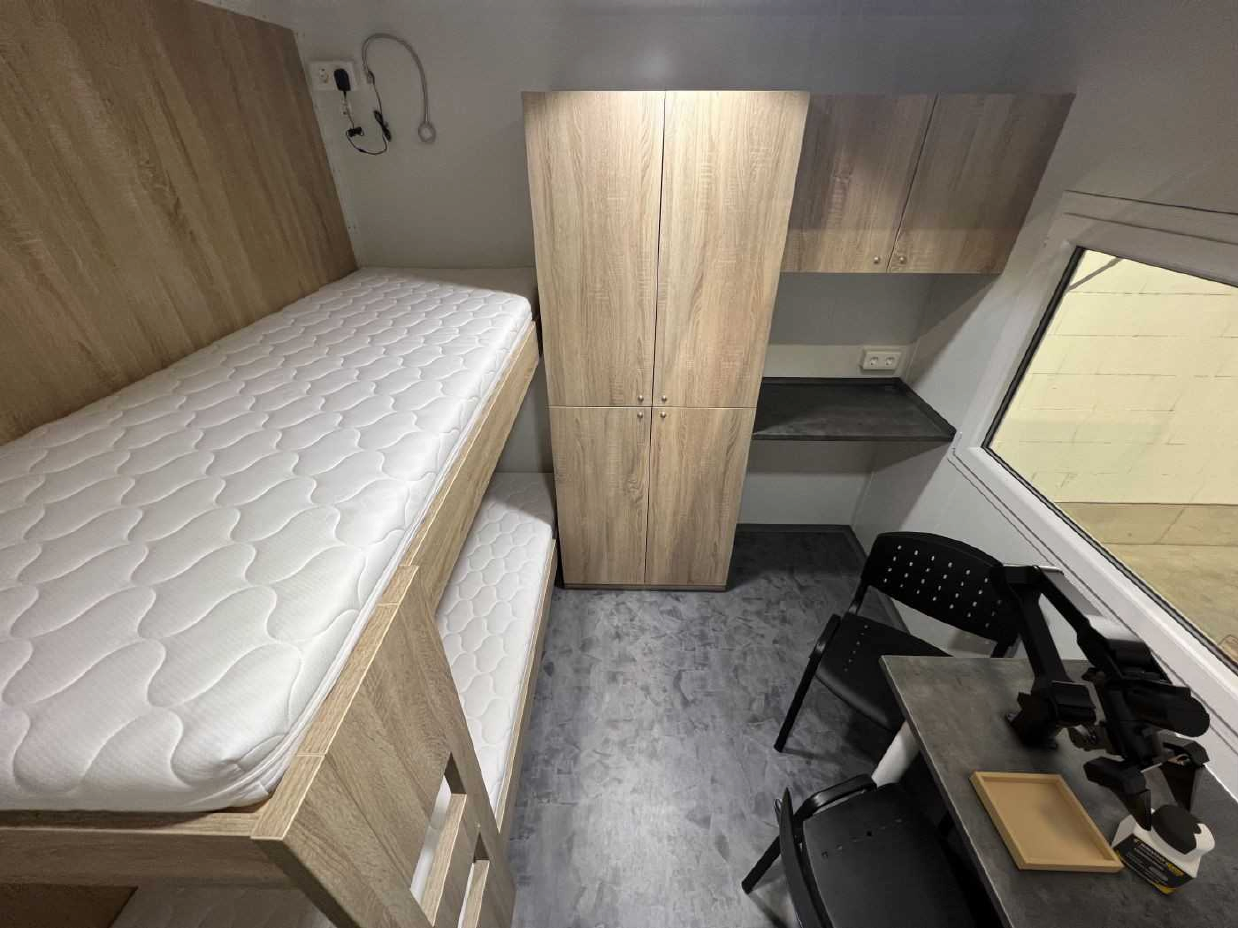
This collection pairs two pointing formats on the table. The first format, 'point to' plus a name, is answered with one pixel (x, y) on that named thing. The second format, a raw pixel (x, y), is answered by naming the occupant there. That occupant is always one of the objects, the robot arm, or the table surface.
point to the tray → (1044, 823)
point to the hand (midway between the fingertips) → (1166, 820)
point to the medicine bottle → (1164, 846)
